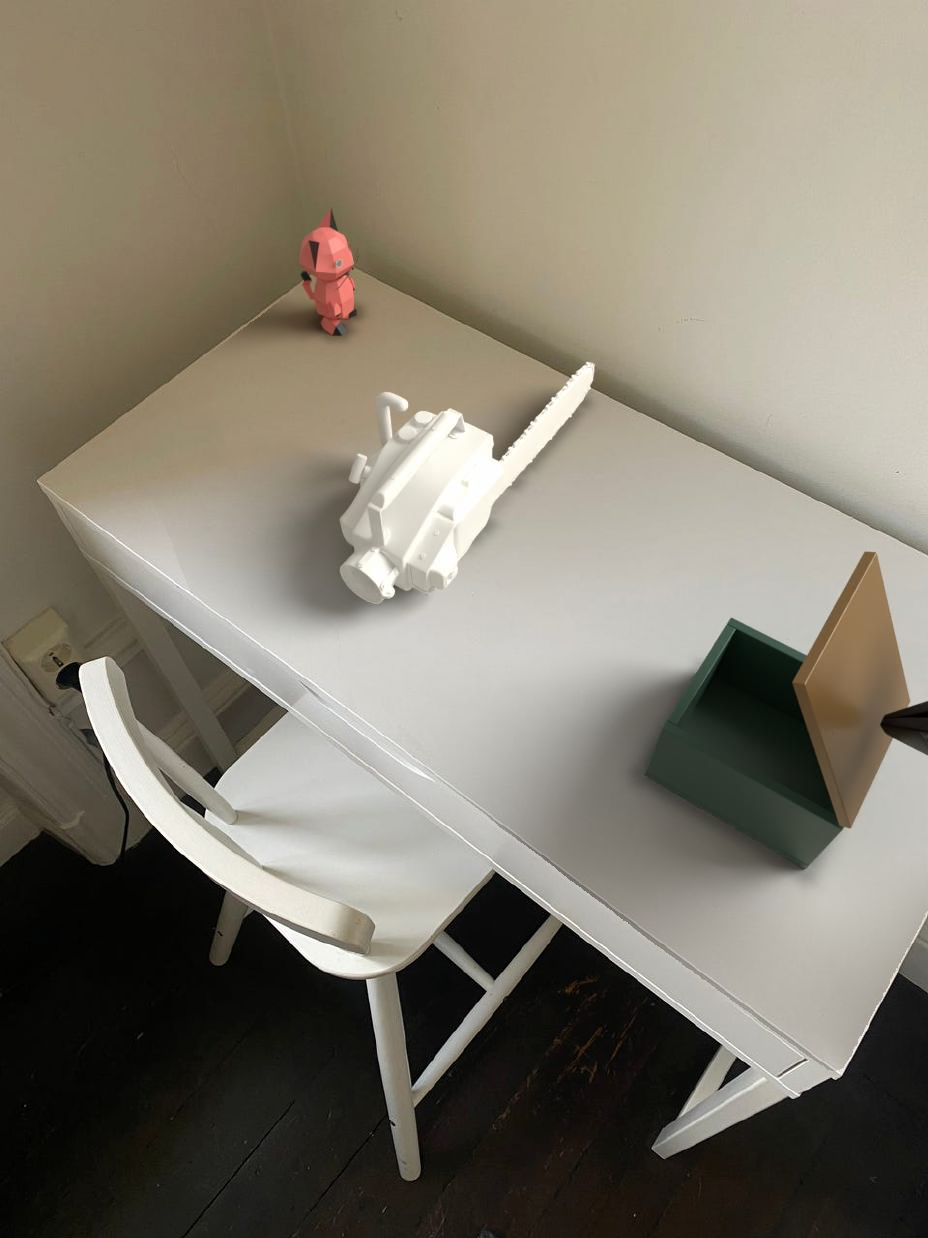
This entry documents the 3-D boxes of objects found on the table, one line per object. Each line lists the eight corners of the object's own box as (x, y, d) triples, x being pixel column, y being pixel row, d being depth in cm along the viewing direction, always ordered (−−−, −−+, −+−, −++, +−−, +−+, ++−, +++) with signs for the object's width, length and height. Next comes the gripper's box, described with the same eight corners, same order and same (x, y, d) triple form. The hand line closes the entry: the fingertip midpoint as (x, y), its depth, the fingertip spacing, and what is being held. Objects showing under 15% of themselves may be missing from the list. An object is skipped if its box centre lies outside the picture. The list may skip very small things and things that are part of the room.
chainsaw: (615, 403, 96) (632, 303, 85) (419, 638, 80) (411, 551, 70) (494, 349, 101) (496, 248, 90) (287, 561, 85) (261, 468, 74)
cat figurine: (352, 345, 101) (338, 249, 91) (295, 333, 102) (275, 237, 92) (374, 305, 105) (363, 209, 95) (319, 294, 106) (302, 198, 96)
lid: (791, 682, 53) (804, 684, 53) (864, 550, 58) (877, 551, 58) (839, 826, 61) (850, 829, 61) (899, 699, 67) (910, 701, 66)
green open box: (643, 775, 73) (661, 728, 66) (708, 670, 78) (731, 616, 71) (805, 869, 68) (842, 830, 61) (862, 752, 74) (902, 703, 67)
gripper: (1160, 502, 49) (882, 540, 62) (1068, 771, 40) (768, 751, 53) (1220, 649, 53) (948, 656, 66) (1147, 921, 45) (851, 869, 57)
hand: (884, 724), depth 60 cm, fingers closed
